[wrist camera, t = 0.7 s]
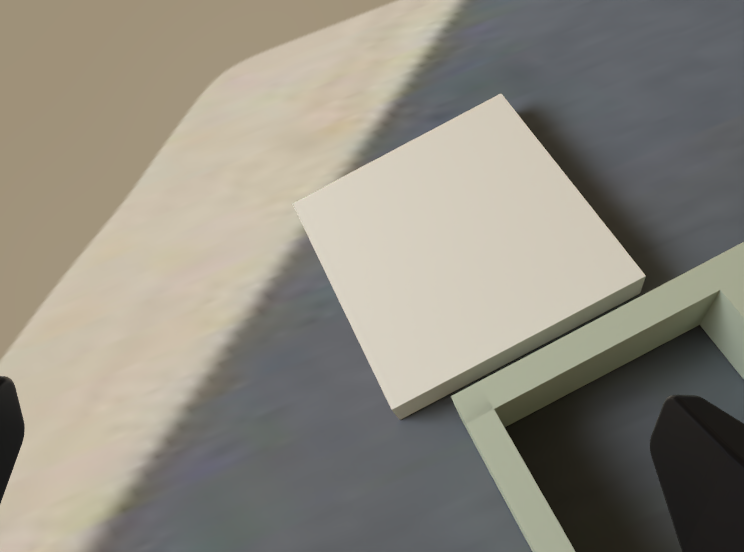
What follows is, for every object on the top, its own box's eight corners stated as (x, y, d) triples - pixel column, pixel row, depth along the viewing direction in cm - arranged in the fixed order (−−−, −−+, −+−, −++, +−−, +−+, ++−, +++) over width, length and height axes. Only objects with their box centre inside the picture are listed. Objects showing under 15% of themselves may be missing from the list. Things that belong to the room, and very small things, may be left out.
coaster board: (640, 293, 24) (645, 276, 23) (399, 419, 24) (391, 409, 23) (502, 116, 29) (501, 93, 27) (303, 221, 29) (292, 203, 27)
